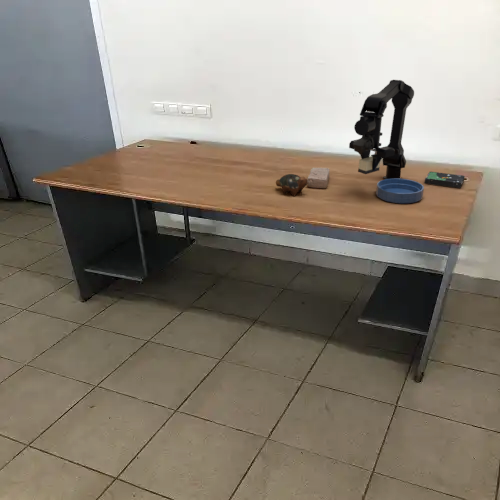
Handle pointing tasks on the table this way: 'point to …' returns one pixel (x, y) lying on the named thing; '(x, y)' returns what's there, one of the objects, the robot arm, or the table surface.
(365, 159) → the eraser
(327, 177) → the brick
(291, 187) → the decorative turtle
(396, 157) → the robot arm
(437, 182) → the disk drive
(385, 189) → the bowl
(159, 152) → the table surface
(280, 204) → the table surface
